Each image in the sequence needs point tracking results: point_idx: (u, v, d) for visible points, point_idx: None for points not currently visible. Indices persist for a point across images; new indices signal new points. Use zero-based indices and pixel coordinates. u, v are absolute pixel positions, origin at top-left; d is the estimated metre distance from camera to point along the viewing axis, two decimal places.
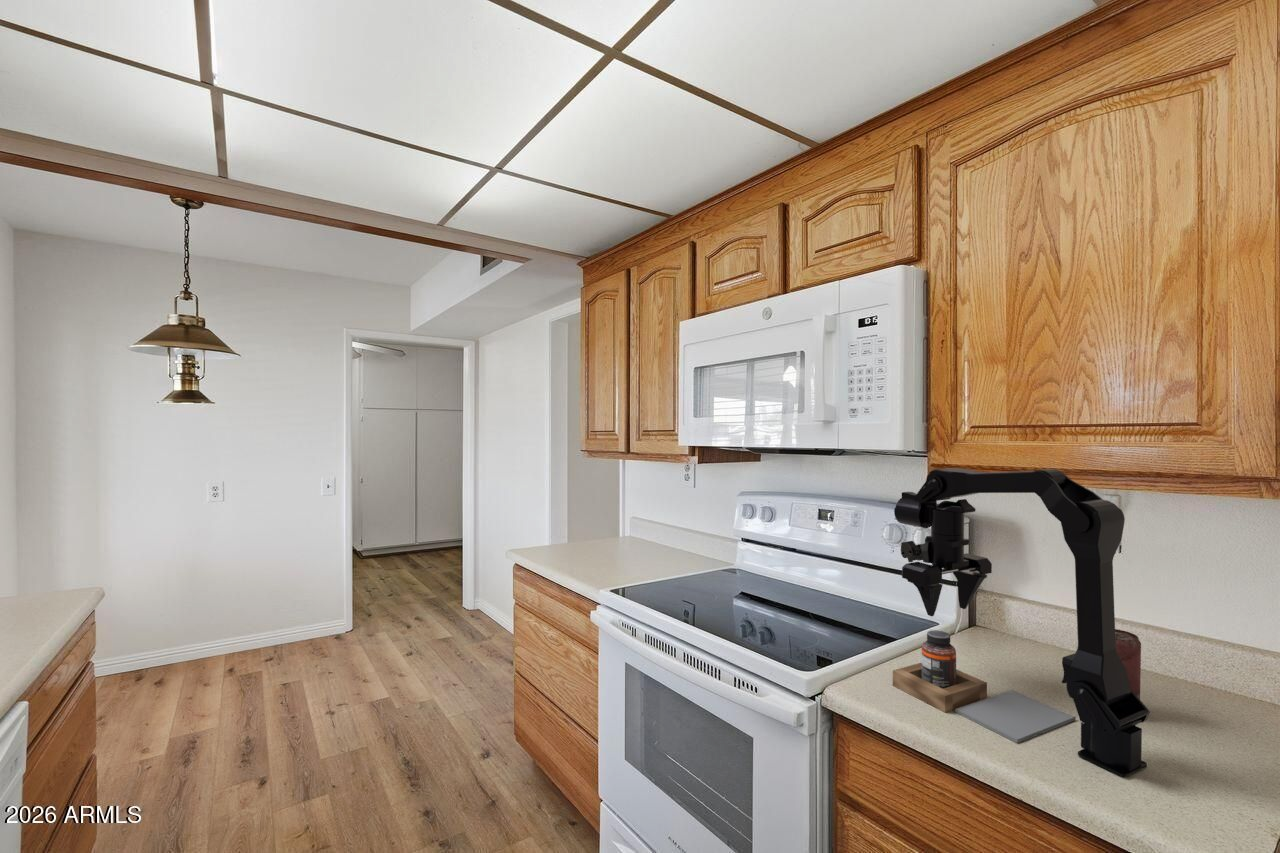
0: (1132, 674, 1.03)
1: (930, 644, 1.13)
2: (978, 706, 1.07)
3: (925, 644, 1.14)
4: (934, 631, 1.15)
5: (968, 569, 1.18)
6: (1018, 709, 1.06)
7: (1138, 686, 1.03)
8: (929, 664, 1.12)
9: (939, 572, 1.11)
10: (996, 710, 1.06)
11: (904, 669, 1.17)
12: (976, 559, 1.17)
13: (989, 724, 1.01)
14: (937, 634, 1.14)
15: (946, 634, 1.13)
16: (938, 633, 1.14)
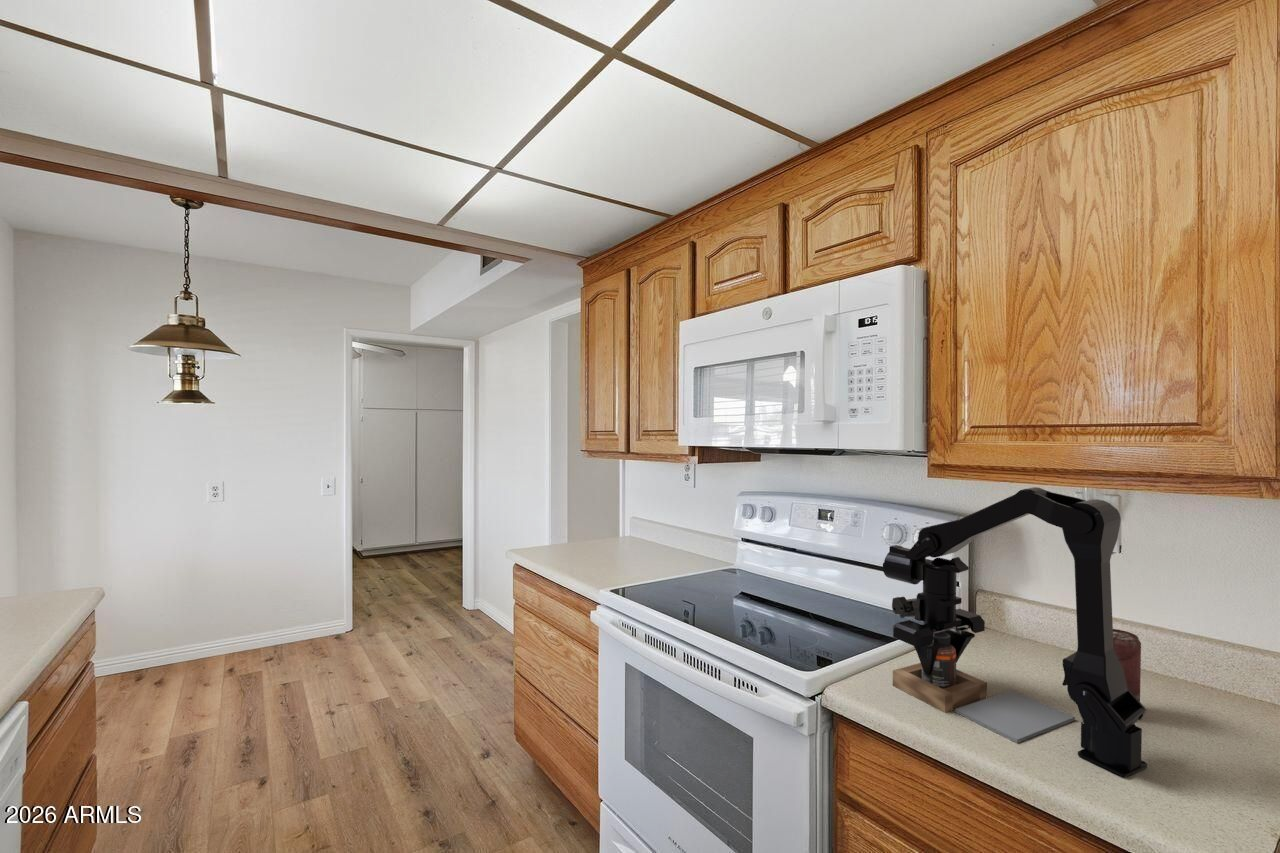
0: (1132, 674, 1.03)
1: None
2: (978, 706, 1.07)
3: None
4: None
5: (955, 628, 1.15)
6: (1018, 709, 1.06)
7: (1138, 686, 1.03)
8: None
9: (931, 633, 1.08)
10: (996, 710, 1.06)
11: (904, 669, 1.17)
12: (969, 617, 1.14)
13: (989, 724, 1.01)
14: (937, 633, 1.14)
15: (946, 634, 1.13)
16: (938, 633, 1.14)
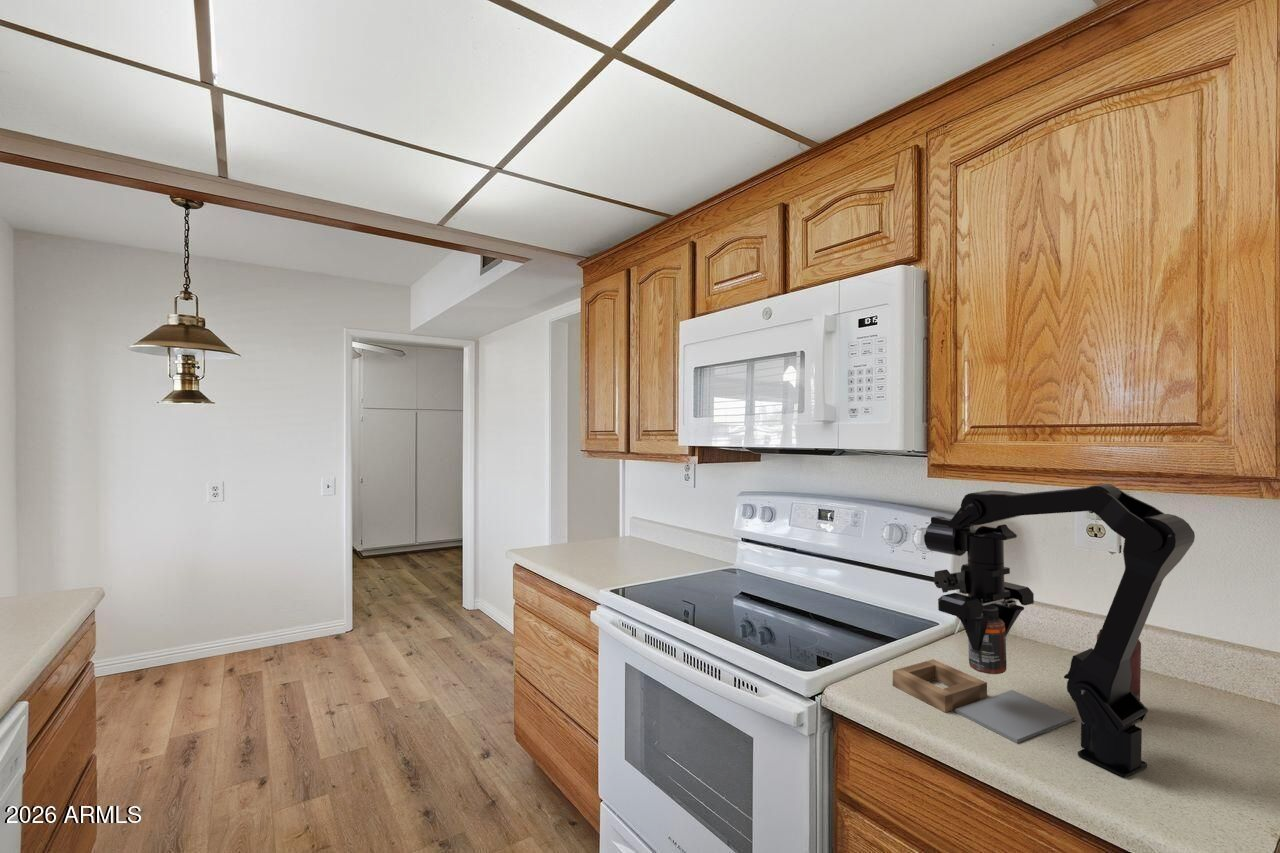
0: (1132, 674, 1.03)
1: None
2: (978, 706, 1.07)
3: None
4: None
5: (1003, 601, 1.08)
6: (1018, 709, 1.06)
7: (1138, 686, 1.03)
8: None
9: (980, 605, 1.02)
10: (996, 710, 1.06)
11: (904, 669, 1.17)
12: (1017, 589, 1.08)
13: (989, 724, 1.01)
14: (984, 606, 1.07)
15: (994, 607, 1.07)
16: (985, 606, 1.08)
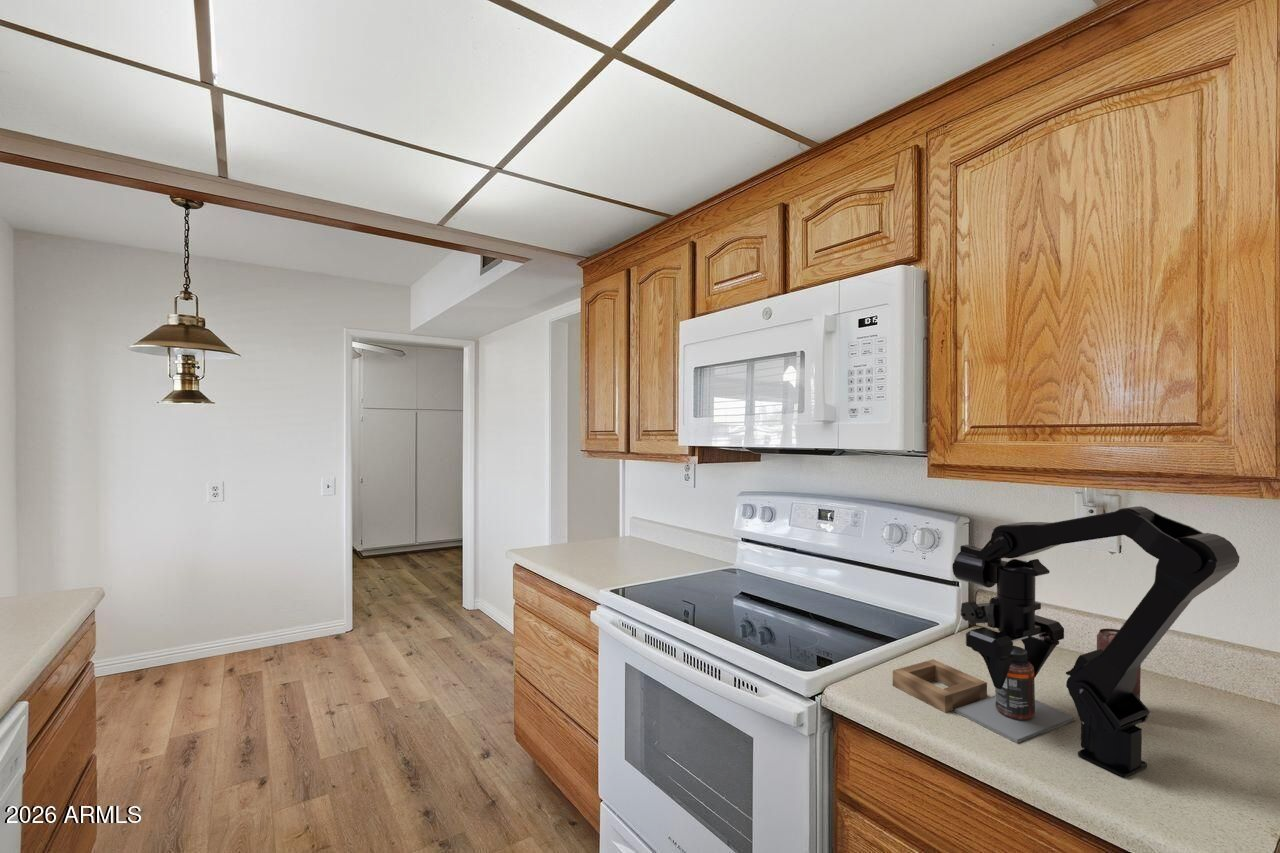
0: None
1: None
2: (978, 706, 1.07)
3: None
4: None
5: (1038, 634, 1.06)
6: None
7: (1138, 686, 1.03)
8: (1004, 682, 1.03)
9: (1010, 642, 0.99)
10: (996, 710, 1.06)
11: (904, 669, 1.17)
12: (1047, 623, 1.05)
13: (989, 724, 1.01)
14: None
15: (1022, 650, 1.04)
16: (1013, 648, 1.05)
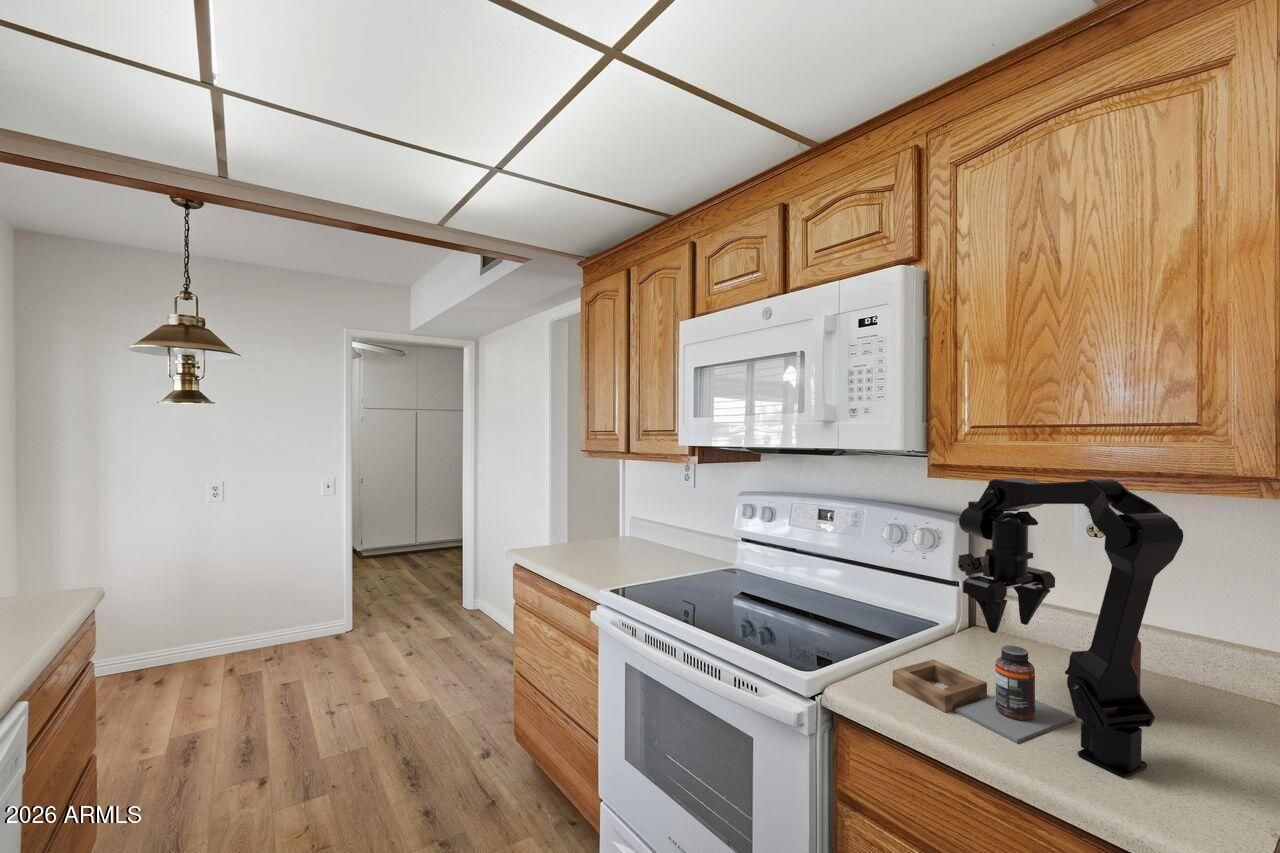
0: None
1: (1006, 661, 1.04)
2: (978, 706, 1.07)
3: (1000, 661, 1.05)
4: (1009, 646, 1.06)
5: (1030, 583, 1.13)
6: None
7: (1138, 686, 1.03)
8: (1005, 682, 1.03)
9: (1004, 587, 1.06)
10: (996, 710, 1.06)
11: (904, 669, 1.17)
12: (1039, 573, 1.12)
13: (989, 724, 1.01)
14: (1013, 649, 1.04)
15: (1023, 650, 1.04)
16: (1014, 649, 1.05)
